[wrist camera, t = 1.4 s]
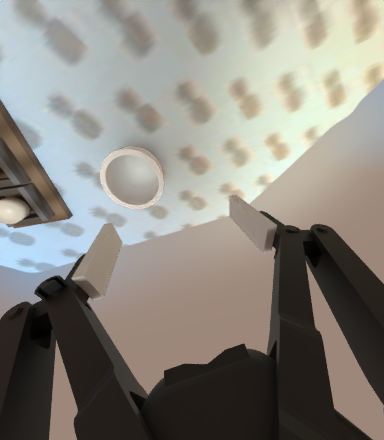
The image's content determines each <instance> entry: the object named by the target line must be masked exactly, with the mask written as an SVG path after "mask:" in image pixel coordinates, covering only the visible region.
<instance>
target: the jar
mask: <svg viewBox="0 0 384 440" xmlns="http://www.w3.org/2000/svg"><path fill="white" fill-rule="evenodd" d="M100 180H101V183H102V186H103V188H104V190H105V191H106V193H107V194H108V195H109V197H110V198H111V199H113V200H114V201H115V202H117V203H118V204H120V205H122V206H124V207H127V208H132V209H143V208H147V207H149V206H151V205H153V204H154V203H156V202H157V201H158V199H159V198H160V196H161V195H162V192H163V187H164V181H163V172H162V168H161V166H160V163H159V162H158V160H157V159H156V157H155V156H154V155H153V154H152V153H150V152H149V151H147V150H146V149H143V148H141V147H136V146H128V147H124V148H121V149H119V150H116V151H114V152H112V153H110V154H109V155H108V156H107V157H106V158H105V159H104V161H103V163H102V165H101V168H100Z"/></svg>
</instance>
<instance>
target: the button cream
mask: <svg viewBox="0 0 384 440" xmlns="http://www.w3.org/2000/svg"><path fill="white" fill-rule="evenodd" d="M30 213H31V209H30V207H29V205H28V204H27V203H25V202H24V201H22V200H20V199H18V198H14V197H7V198H4V199H1V200H0V222H1V223H5V224H15V223H17V222H19V221H21V220H22V219H24V218H25V217H27V216H29V215H30Z"/></svg>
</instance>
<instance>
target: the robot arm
mask: <svg viewBox="0 0 384 440" xmlns="http://www.w3.org/2000/svg"><path fill="white" fill-rule="evenodd" d="M230 217H231V219H232V220H233V221H234V222H235V223H236V224H237V225H238V226H239V227H240V229H241V230H242V231H243V232H244V233H245V234H246V235H247V236H248V237H249V239H250V240H251V241H252V242H253V243H254V244H255V245H256V246H257V248H259V250H260V251H261V252H262V253H263V254H264V253H268V252H271V251H272V247H274V248H275V249H276V251H275V256H274V259H275V264H274V278H273V292H272V306H271V321H270V334H269V342H268V348H267V355H266V354H264V353H262V352H260V351H257V350H253V349H246V347H245V344H241V345H238V346H235V347H233V348H229V349H226V350H224V352H222V353H221V354H219V355H218V356H217V357H216V358H214V359H213V360H212V361H211V362H209V363H208V364H182V365H179V366H177V367H174V368H171V369H168V370H165V371H164V378H163V379H161V380H160V381H159V383H157V385H156V386H155V387H154V388H153V389H152V391H151V393H150V394H149V395H148V394H147V393H146V391H145V390H144V389H143V388H142V386H141V385H140V384H139V383H138V382H137V380H136V379H135V377H134V375H133V374H132V372H131V371H130V369H129V367H128V366H127V364H126V363H125V361H124V359H123V358H122V356H121V354H120V353H119V351H118V350H117V348H116V347H115V345H114V343H113V342H112V340H111V339H110V337H109V335H108V334H107V332H106V331H105V329H104V327H103V326H102V324H101V323H100V321H99V319H98V318H97V316H96V314H95V313H94V311H93V310H92V308H91V306H90V305H89V304H88V303H87V300H88V298H89V297H90V298H91V299H92V300H93V301H95V300H99V299H102V298H104V296H105V293H106V290H107V287H108V284H109V281H110V278H111V275H112V272H113V269H114V266H115V263H116V260H117V257H118V254H119V251H120V248H121V245H122V241H121V239H120V237H119V235H118V233H117V231H116V230H115V228H114V226H113V224H112V223H108V224H104V225H103V227H102V229H101V230H100V232H99V234H98V235H97V237H96V239H95V240H94V242H93V243H92V245H91V247H90V248H89V250H88V252H87V253H86V254H84V255H82V256H81V257H80V258H79V259H78V260H77V262H76V263H75V266H74V267H73V268H72V270H71V271H70V273H69V275H68V276H67V277H66V279H65V280H64V279H63V278H62V277H60V276H53V277H51V278H49V279H47V280H45V281H44V282H42V283H41V284H40V285H39V286H38V287H37V289H36V290H35V294H36V295H37V296H38V297H40V298H41V299H42V300H41V301H39V302H37V303H35V304H33V305H32V304H30V303H29V302H22V303H20V304H18V305H16V306H14V307H12V308H11V309H10V310H8V311H7V312H6V313H5V314H4V315H3V316H2V318H1V319H0V440H49V430H50V416H51V402H52V389H53V375H54V361H55V347H56V340H57V343H58V347H59V350H60V353H61V356H62V359H63V363H64V366H65V369H66V372H67V376H68V379H69V382H70V385H71V388H72V391H73V395H74V398H75V401H76V404H77V408H78V413H77V415H76V417H75V418H74V428H75V433H76V437H77V440H372V439H371V438H370V437H369V436H367V435H366V434H365V433H364V432H362V431H361V430H360V429H359V428H358V427H356V426H355V425H354V424H353V423H351V422H350V421H349V420H348V419H346V418H345V417H344V416H343V415H341V414H340V413H339V412H338V411H336V410H335V409H334V405H333V399H332V393H331V387H330V381H329V375H328V369H327V364H326V357H325V352H324V345H323V340H322V336H321V334H320V332H319V331H318V330H316V328H315V324H314V317H313V311H312V303H311V296H310V289H309V281H308V274H307V267H306V262H307V264H308V266H309V268H310V270H311V272H312V274H313V275H314V278H315V280H316V281H317V283H318V285H319V287H320V289H321V291H322V293H323V295H324V297H325V299H326V301H327V303H328V305H329V307H330V309H331V311H332V313H333V315H334V317H335V319H336V321H337V322H338V324H339V326H340V328H341V330H342V332H343V334H344V336H345V338H346V340H347V342H348V344H349V346H350V348H351V350H352V352H353V354H354V356H355V358H356V360H357V362H358V364H359V366H360V367H361V369H362V371H363V373H364V374H365V376H366V378H367V380H368V382H369V383H370V385H371V386H372V388H373V389H374V391H375V393H376V394H377V396H378V397H379V398H380V400H381V402H382V403H383V405H384V284H383V283H382V282H381V281H380V280H379V278H377V276H376V275H375V274H374V273H373V272H372V271H371V270H370V269H369V268H368V267H367V265H366V264H365V263H364V262H363V261H362V260H361V259H360V258H359V257H358V256H357V255H356V254H355V253H354V251H353V250H352V249H351V248H350V247H349V246H348V245H347V244H346V243H345V242H344V241H343V239H341V237H340V236H339V235H338V234H337V233H336V232H335V231H334V230H333V229H332V228H331V227H328V226H326V225H322V224H321V225H320V224H315V225H313V226H312V227H311V229H310V230H300V229H299V228H297V227H295V226H290V225H286V226H285V225H284V224H282V223H281V222H279V221H278V220H276V219H275V218H274V217H272V216H271V215H269V214H268V213H266V212H263V211H260V212H259V211H257V210H256V209H255V208H253V207H252V206H251V205H249V204H248V203H246V202H245V201H244V200H242V199H241V198H240V197H238V196H237V195H232V196H230ZM383 412H384V408H383Z"/></svg>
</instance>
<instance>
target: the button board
mask: <svg viewBox="0 0 384 440" xmlns="http://www.w3.org/2000/svg"><path fill="white" fill-rule="evenodd" d="M7 197H14V198H18V199H20V200H22V201H24V202H25V203H27V204H28V205H29V207H30V209H31V213H30V215H29V216H27V217H25V218H24V219H22V220H21V221H19V222H17V223H15V224H6V225H7V226H8V227H14V228H19V227H25V226H31V225H36V224H42V223H48V222H54V221H59V220H65V219H69V218H70V217H72V216H73V215H72V213H71V212H70V210H69V208H68V207H67V205H66V204H65V202H64V201H63V199H62V197H61V196H60V194H59V193H58V191H57V189H56V188H55V186H54V185H53V183H52V181H51V180H50V178H49V177H48V175H47V173H46V172H45V170H44V169H43V167H42V165H41V164H40V162H39V161H38V159H37V157H36V156H35V154H34V153H33V151H32V149H31V148H30V146H29V145H28V143H27V142H26V140H25V138H24V137H23V135H22V134H21V132H20V130H19V129H18V127H17V126H16V124H15V122H14V121H13V119H12V118H11V116H10V114H9V113H8V111H7V110H6V108H5V106H4V105H3V103H2V102H1V100H0V200H1V199H4V198H7Z"/></svg>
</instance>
